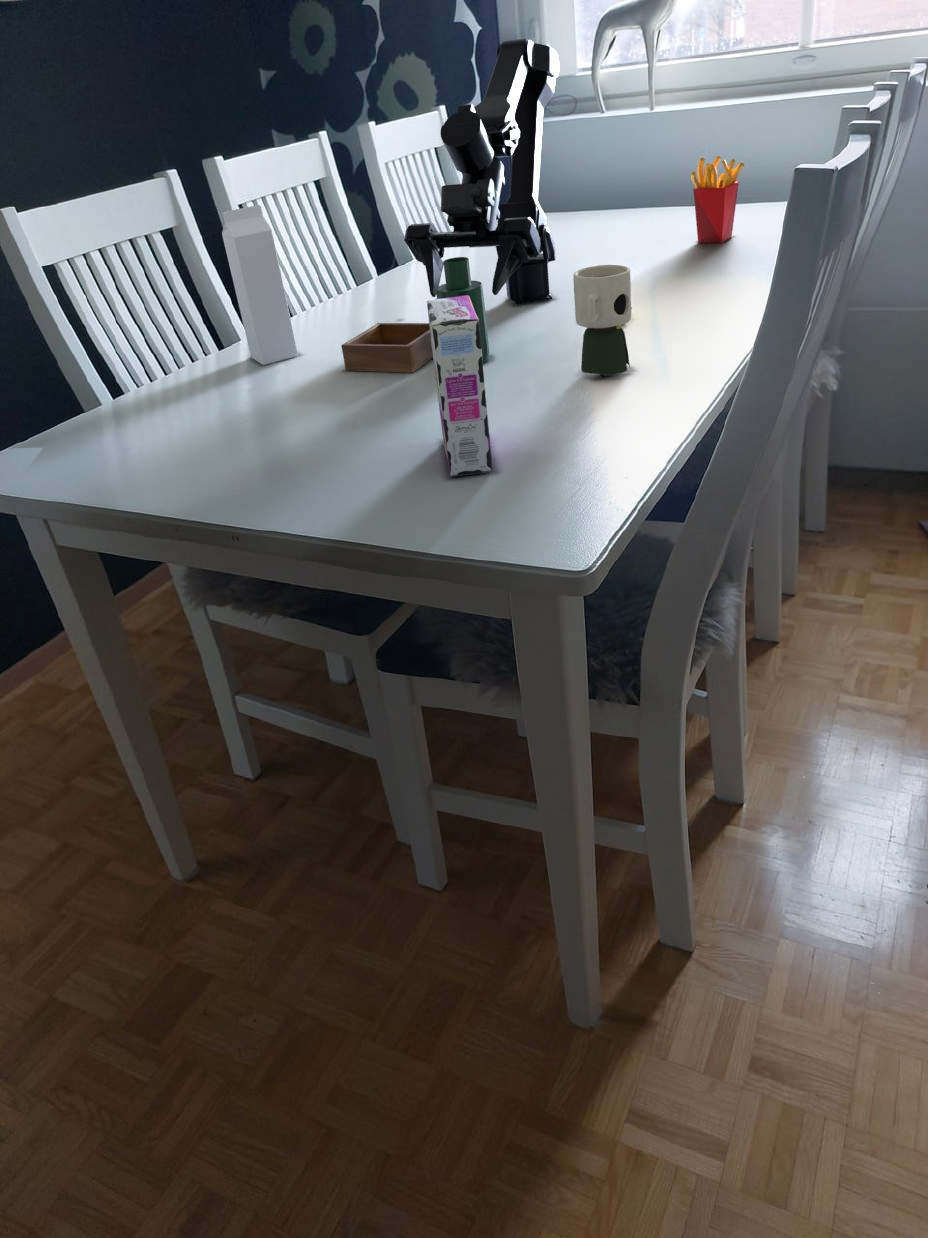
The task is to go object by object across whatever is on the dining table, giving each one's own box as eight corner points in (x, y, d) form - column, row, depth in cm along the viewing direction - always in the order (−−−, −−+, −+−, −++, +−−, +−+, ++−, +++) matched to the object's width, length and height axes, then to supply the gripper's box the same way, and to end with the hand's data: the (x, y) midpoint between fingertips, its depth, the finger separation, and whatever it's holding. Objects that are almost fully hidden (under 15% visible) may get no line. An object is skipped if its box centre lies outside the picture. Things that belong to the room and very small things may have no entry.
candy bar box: (496, 472, 101) (480, 318, 92) (450, 479, 101) (429, 325, 92) (485, 435, 111) (469, 292, 102) (443, 441, 111) (424, 298, 102)
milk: (298, 356, 149) (268, 206, 137) (262, 365, 146) (228, 213, 135) (285, 348, 153) (254, 202, 141) (250, 357, 151) (216, 210, 139)
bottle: (485, 351, 139) (474, 251, 132) (493, 363, 134) (483, 260, 126) (442, 358, 138) (429, 259, 131) (449, 370, 133) (436, 267, 126)
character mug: (620, 387, 119) (617, 281, 112) (566, 386, 122) (560, 282, 115) (642, 360, 127) (641, 259, 120) (591, 359, 130) (587, 260, 123)
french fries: (705, 235, 188) (707, 152, 180) (745, 235, 184) (749, 150, 176) (686, 245, 182) (687, 160, 174) (727, 246, 178) (730, 159, 170)
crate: (382, 347, 147) (378, 322, 145) (446, 348, 143) (443, 322, 141) (345, 370, 139) (340, 344, 137) (412, 372, 134) (408, 346, 132)
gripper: (398, 162, 131) (380, 264, 128) (528, 151, 124) (511, 258, 122) (426, 212, 141) (410, 307, 138) (547, 204, 135) (532, 304, 132)
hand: (463, 294), depth 132 cm, fingers open, 9 cm apart
